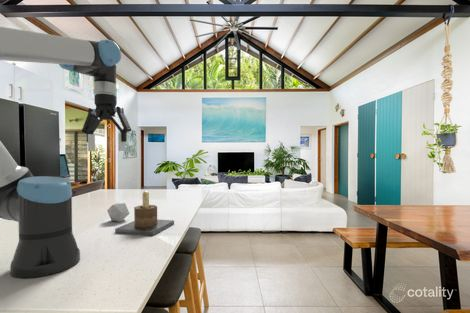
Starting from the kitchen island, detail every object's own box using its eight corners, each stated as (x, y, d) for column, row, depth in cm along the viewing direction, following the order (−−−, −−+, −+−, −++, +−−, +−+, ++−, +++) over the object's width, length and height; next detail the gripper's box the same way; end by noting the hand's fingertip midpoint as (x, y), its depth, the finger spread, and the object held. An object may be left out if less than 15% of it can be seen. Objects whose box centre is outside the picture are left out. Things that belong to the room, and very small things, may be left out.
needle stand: (153, 235, 96) (152, 194, 96) (115, 232, 100) (114, 193, 100) (174, 223, 111) (173, 188, 111) (140, 221, 115) (139, 188, 115)
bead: (149, 227, 101) (149, 209, 100) (130, 226, 103) (130, 208, 102) (160, 222, 108) (160, 205, 108) (143, 221, 110) (142, 204, 110)
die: (133, 220, 120) (129, 202, 124) (124, 215, 112) (121, 195, 117) (115, 228, 119) (112, 208, 124) (105, 223, 111) (102, 202, 116)
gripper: (140, 95, 101) (141, 150, 102) (86, 98, 108) (87, 151, 108) (127, 90, 94) (128, 150, 95) (70, 95, 100) (71, 151, 101)
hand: (106, 151), depth 101 cm, fingers open, 13 cm apart
